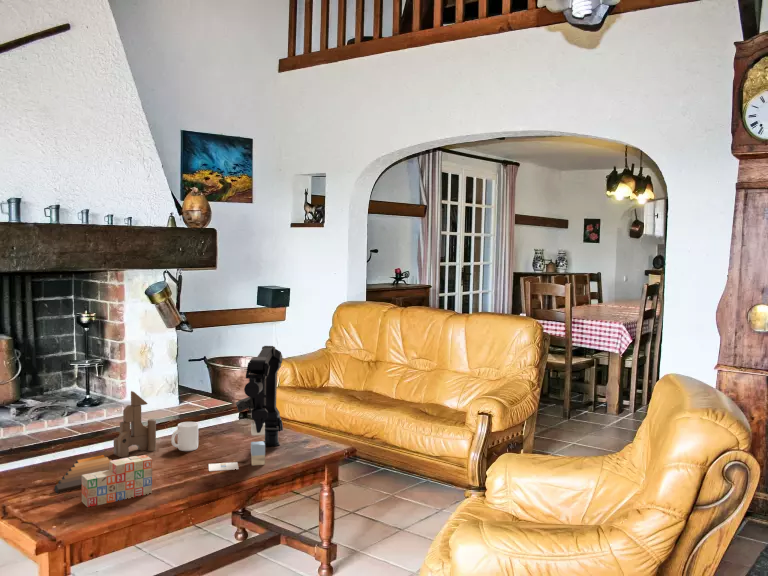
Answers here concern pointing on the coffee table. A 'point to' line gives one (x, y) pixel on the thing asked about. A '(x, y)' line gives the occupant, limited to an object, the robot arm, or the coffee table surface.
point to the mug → (186, 436)
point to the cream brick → (254, 431)
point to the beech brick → (258, 460)
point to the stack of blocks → (118, 481)
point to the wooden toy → (135, 429)
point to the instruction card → (223, 466)
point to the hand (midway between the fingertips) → (257, 430)
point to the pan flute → (81, 472)
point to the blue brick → (257, 448)
